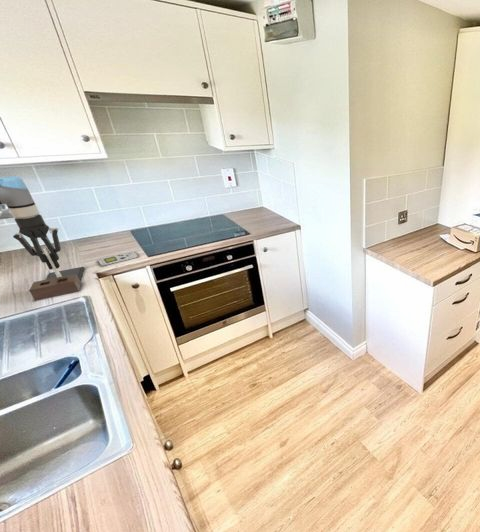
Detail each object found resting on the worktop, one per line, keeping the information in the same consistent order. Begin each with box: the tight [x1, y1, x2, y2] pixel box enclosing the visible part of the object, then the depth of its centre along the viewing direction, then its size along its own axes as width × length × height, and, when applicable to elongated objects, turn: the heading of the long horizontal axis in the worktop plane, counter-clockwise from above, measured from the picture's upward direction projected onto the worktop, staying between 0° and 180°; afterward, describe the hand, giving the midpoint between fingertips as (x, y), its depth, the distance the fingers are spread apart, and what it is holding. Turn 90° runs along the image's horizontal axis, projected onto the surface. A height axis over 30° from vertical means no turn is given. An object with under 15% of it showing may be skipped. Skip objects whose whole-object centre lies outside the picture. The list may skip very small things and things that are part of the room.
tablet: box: [45, 266, 85, 281], centre depth 147 cm, size 12×16×1 cm
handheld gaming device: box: [97, 251, 139, 267], centre depth 166 cm, size 9×1×15 cm
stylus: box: [41, 247, 62, 277], centre depth 140 cm, size 2×2×16 cm
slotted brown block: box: [28, 274, 82, 301], centre depth 136 cm, size 8×13×5 cm, turn 126°
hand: (54, 267), depth 140 cm, fingers closed on stylus, 1 cm apart
